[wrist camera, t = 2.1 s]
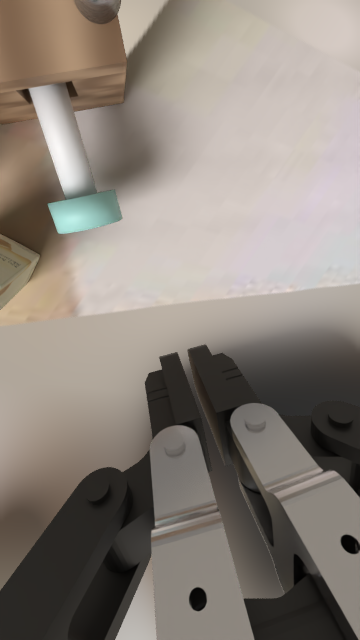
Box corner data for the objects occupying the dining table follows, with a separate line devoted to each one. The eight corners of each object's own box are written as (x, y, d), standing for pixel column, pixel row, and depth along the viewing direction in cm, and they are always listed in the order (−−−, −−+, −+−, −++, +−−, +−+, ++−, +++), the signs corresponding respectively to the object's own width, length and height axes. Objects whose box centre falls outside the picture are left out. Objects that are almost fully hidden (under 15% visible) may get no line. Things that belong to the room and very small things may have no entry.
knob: (77, 45, 24) (66, 5, 18) (121, 215, 30) (123, 221, 25) (2, 57, 23) (-31, 19, 18) (63, 227, 29) (52, 237, 24)
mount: (102, 8, 26) (94, -97, 16) (123, 102, 29) (127, 61, 19) (-36, 28, 25) (-133, -72, 15) (2, 124, 28) (-59, 92, 18)
